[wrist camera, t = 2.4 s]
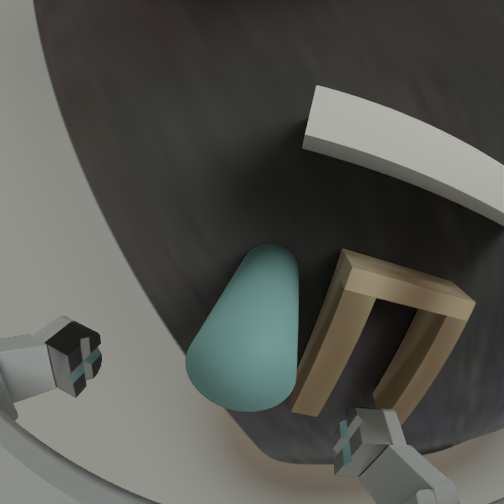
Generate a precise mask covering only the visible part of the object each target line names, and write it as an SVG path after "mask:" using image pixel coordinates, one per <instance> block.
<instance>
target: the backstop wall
mask: <svg viewBox="0 0 504 504" xmlns="http://www.w3.org/2000/svg"><path fill="white" fill-rule="evenodd" d="M302 149H306V150H309V151H313V152H317V153H320V154H324V155H327V156H331V157H334V158H337V159H341V160H344V161H347V162H350V163H353V164H357V165H360V166H363V167H366V168H369V169H372V170H375V171H377V172H380V173H383V174H386V175H389V176H391V177H394V178H397V179H400V180H402V181H405V182H408V183H410V184H413V185H415V186H418V187H420V188H423V189H425V190H428V191H430V192H432V193H435V194H437V195H440V196H442V197H444V198H446V199H449V200H451V201H453V202H455V203H458V204H460V205H462V206H464V207H466V208H468V209H470V210H473V211H475V212H477V213H479V214H481V215H483V216H485V217H487V218H489V219H491V220H493V221H495V222H497V223H498V224H500V225H502V226H504V165H502V164H501V163H499V162H497V161H496V160H494V159H493V158H491V157H489V156H488V155H486V154H484V153H482V152H481V151H479V150H477V149H476V148H474V147H472V146H470V145H468V144H467V143H465V142H463V141H461V140H459V139H457V138H455V137H453V136H451V135H449V134H447V133H445V132H443V131H441V130H439V129H437V128H435V127H433V126H431V125H428V124H426V123H424V122H422V121H420V120H417V119H415V118H413V117H410V116H408V115H405V114H403V113H400V112H398V111H395V110H393V109H390V108H388V107H385V106H382V105H380V104H377V103H374V102H371V101H368V100H365V99H362V98H359V97H356V96H353V95H350V94H347V93H343V92H340V91H336V90H333V89H329V88H326V87H322V86H318V85H317V86H316V90H315V94H314V98H313V103H312V107H311V111H310V115H309V119H308V124H307V128H306V132H305V136H304V141H303V146H302Z"/></svg>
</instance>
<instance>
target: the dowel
mask: <svg viewBox="0 0 504 504" xmlns="http://www.w3.org/2000/svg"><path fill="white" fill-rule="evenodd" d="M298 311H299V267H298V263H297V260H296V258H295V257H294V255H293V254H292V253H291V252H290V251H289V250H288V249H286V248H285V247H283V246H281V245H278V244H273V243H265V244H261V245H258V246H256V247H254V248H252V249H251V250H250V251H249V252H248V253H247V254H246V256H245V257H244V259H243V261H242V262H241V264H240V265H239V267H238V269H237V270H236V272H235V274H234V275H233V277H232V278H231V280H230V282H229V283H228V285H227V287H226V288H225V290H224V291H223V293H222V295H221V296H220V298H219V300H218V301H217V303H216V304H215V306H214V308H213V309H212V311H211V313H210V314H209V316H208V317H207V319H206V321H205V322H204V324H203V326H202V327H201V329H200V331H199V332H198V334H197V335H196V337H195V339H194V340H193V342H192V344H191V345H190V347H189V349H188V351H187V355H186V369H187V374H188V376H189V378H190V380H191V382H192V383H193V385H194V386H195V388H196V389H197V390H198V391H199V392H200V393H201V394H202V395H204V396H205V397H206V398H207V399H209V400H210V401H212V402H213V403H215V404H217V405H219V406H222V407H224V408H227V409H231V410H235V411H242V412H256V411H262V410H266V409H269V408H272V407H274V406H276V405H278V404H280V403H281V402H283V401H284V400H285V399H286V398H287V397H288V396H289V395H290V393H291V392H292V390H293V388H294V386H295V383H296V374H297V349H298Z"/></svg>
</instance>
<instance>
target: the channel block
mask: <svg viewBox="0 0 504 504" xmlns="http://www.w3.org/2000/svg"><path fill="white" fill-rule="evenodd" d="M376 298H379V299H383V300H387V301H391V302H395V303H399V304H403V305H406V306H410V307H414V308H418V310H417V312H416V314H415V316H414V318H413V321H412V323H411V325H410V327H409V329H408V331H407V333H406V335H405V337H404V339H403V341H402V343H401V345H400V347H399V348H398V350H397V352H396V354H395V356H394V358H393V360H392V361H391V363H390V365H389V367H388V368H387V370H386V372H385V374H384V375H383V377H382V379H381V380H380V382H379V384H378V385H377V387H376V389H375V390H374V392H373V397H374V401H375V405H376V408H377V409H393V410H394V411H395V412H396V414H397V417H398V419H399V422H400V425H401V426H402V424H403V423H404V422H405V420H406V419H407V418H408V417H409V415H410V414H411V413H412V411H413V410H414V409H415V407H416V406H417V404H418V403H419V402H420V400H421V399H422V397H423V396H424V394H425V393H426V392H427V390H428V389H429V387H430V386H431V384H432V383H433V381H434V379H435V378H436V376H437V375H438V373H439V372H440V370H441V368H442V367H443V365H444V363H445V362H446V360H447V358H448V357H449V355H450V353H451V351H452V350H453V348H454V346H455V344H456V342H457V340H458V339H459V337H460V335H461V333H462V331H463V329H464V327H465V325H466V323H467V321H468V319H469V317H470V315H471V313H472V311H473V308H474V306H475V304H476V302H475V301H474V300H472V299H471V298H470V297H469V296H468V295H467V294H466V293H464V292H463V291H462V290H461V289H460V288H459V287H457V286H456V285H455V284H454V283H453V282H451V281H448V280H445V279H442V278H439V277H436V276H433V275H429V274H426V273H423V272H420V271H417V270H413V269H410V268H407V267H404V266H400V265H397V264H394V263H390V262H387V261H384V260H380V259H377V258H374V257H370V256H367V255H363V254H360V253H357V252H353V251H350V250H346V249H343V248H342V250H341V254H340V257H339V260H338V263H337V266H336V269H335V272H334V275H333V277H332V280H331V283H330V286H329V289H328V292H327V295H326V297H325V300H324V303H323V306H322V308H321V311H320V314H319V316H318V319H317V322H316V324H315V327H314V329H313V332H312V334H311V337H310V339H309V342H308V344H307V347H306V349H305V352H304V354H303V357H302V359H301V361H300V364H299V366H298V369H297V374H296V383H295V386H294V388H293V390H292V403H291V412H294V413H299V414H304V415H310V416H315V417H317V416H318V414H319V413H320V411H321V409H322V408H323V406H324V404H325V402H326V401H327V399H328V397H329V395H330V394H331V392H332V390H333V388H334V386H335V384H336V383H337V381H338V379H339V377H340V375H341V373H342V371H343V369H344V367H345V365H346V363H347V361H348V359H349V357H350V355H351V353H352V351H353V349H354V347H355V345H356V343H357V341H358V339H359V336H360V334H361V332H362V330H363V328H364V325H365V323H366V321H367V319H368V316H369V314H370V312H371V309H372V307H373V305H374V302H375V300H376Z"/></svg>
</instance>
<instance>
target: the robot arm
mask: <svg viewBox="0 0 504 504" xmlns="http://www.w3.org/2000/svg"><path fill="white" fill-rule="evenodd" d="M100 344H101V340H100V335H99V334H98V333H97V332H95V331H93V330H91V329H89V328H87V327H85V326H83V325H81V324H79V323H78V322H76V321H73V320H71V319H69V318H67V317H66V316H60V317H59V318H57V319H56V320H54V321H53V322H52V323H50V324H49V325H47V326H46V327H45V328H43V329H42V330H41V331H39V332H38V333H36V334H35V335H34V336H32V335H30V334H29V335H22V336H15V337H8V338H1V339H0V504H160V503H158V502H155V501H152V500H150V499H147V498H144V497H142V496H140V495H137V494H135V493H132V492H130V491H128V490H126V489H123V488H121V487H119V486H117V485H115V484H113V483H111V482H109V481H106V480H105V479H103V478H101V477H99V476H97V475H95V474H93V473H91V472H89V471H88V470H86V469H84V468H82V467H80V466H79V465H77V464H75V463H73V462H72V461H70V460H69V459H67V458H65V457H64V456H62V455H61V454H59V453H57V452H56V451H55V450H53V449H52V448H50V447H49V446H47V445H46V444H44V443H43V442H41V441H40V440H38V439H37V438H36V437H35V436H33V435H32V434H30V433H29V432H28V431H27V430H25V429H24V428H22V427H21V426H20V425H19V424H18V423H16V422H15V420H16V419H17V418H18V414H17V411H16V409H15V407H14V405H13V403H15V402H18V401H21V400H24V399H27V398H30V397H33V396H36V395H38V394H41V393H44V392H47V391H50V390H52V389H55V388H56V387H57V388H59V389H61V390H63V391H64V392H66V393H68V394H70V395H72V396H73V397H75V398H76V397H77V396H78V395H79V394H80V393H81V392H82V391H83V389H84V388H85V387H86V380H89V379H93V378H94V377H95V376H96V375H97V373H98V371H99V369H100V367H101V362H102V355H101V352H100V351H99V349H98V345H100ZM345 415H346V420H344V421H342V422H340V423H339V424H338V426H337V427H336V429H335V432H334V435H333V441H332V446H333V450H334V451H335V452H336V453H337V456H336V457H335V458H334V459H333V460H334V473H335V475H337V476H352V477H359V480H360V481H361V483H362V484H363V485H364V487H365V488H366V490H367V491H368V492H369V494H370V495H371V497H372V498H373V499H374V501H375V502H376V504H460V501H459V498H458V495H457V492H456V489H455V486H454V484H453V483H452V482H451V481H450V480H449V479H448V478H447V477H445V476H444V475H443V474H442V473H441V472H440V471H439V470H437V469H436V468H435V467H434V466H433V465H432V464H431V463H430V462H429V461H427V460H426V459H425V458H424V457H423V456H422V455H421V454H420V453H418V452H417V451H416V450H415V449H414V448H413V447H412V446H411V445H407V444H406V441H405V438H404V435H403V432H402V428H401V425H400V422H399V419H398V417H397V414H396V412H395V411H394V410H393V409H377V408H367V407H358V406H351V407H350V408H349V409H348V410H347V412H346V413H345ZM489 504H504V498H501V499H499V500H496V501H494V502H491V503H489Z"/></svg>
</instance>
